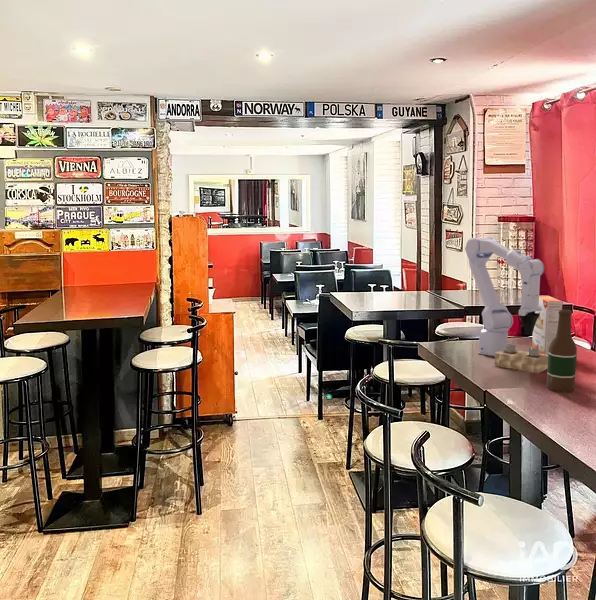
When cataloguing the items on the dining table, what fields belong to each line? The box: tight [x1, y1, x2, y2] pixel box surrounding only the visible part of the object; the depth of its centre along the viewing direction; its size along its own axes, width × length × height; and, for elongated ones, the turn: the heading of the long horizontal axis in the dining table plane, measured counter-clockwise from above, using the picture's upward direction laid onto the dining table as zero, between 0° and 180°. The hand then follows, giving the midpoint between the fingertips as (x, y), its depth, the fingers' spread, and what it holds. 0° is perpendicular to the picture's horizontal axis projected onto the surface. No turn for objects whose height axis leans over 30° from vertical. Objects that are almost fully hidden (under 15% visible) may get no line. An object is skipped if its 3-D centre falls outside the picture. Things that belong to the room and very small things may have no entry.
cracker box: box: [531, 295, 564, 355], centre depth 240 cm, size 14×6×21 cm, turn 178°
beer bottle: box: [546, 308, 578, 393], centre depth 194 cm, size 8×8×24 cm
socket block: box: [494, 349, 548, 374], centre depth 221 cm, size 15×9×4 cm, turn 49°
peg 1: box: [506, 343, 516, 354], centre depth 223 cm, size 3×3×4 cm
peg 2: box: [528, 347, 539, 358], centre depth 218 cm, size 3×3×4 cm
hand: (528, 333), depth 226 cm, fingers closed
